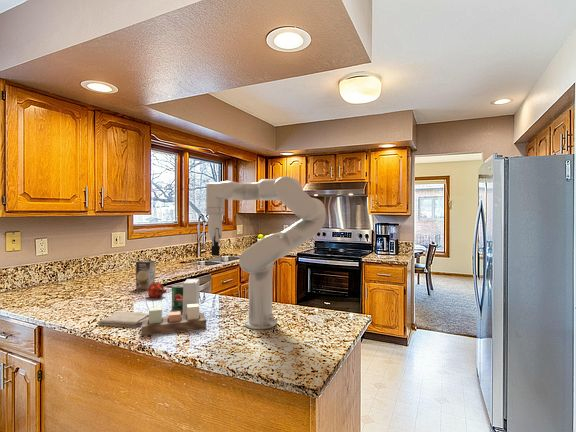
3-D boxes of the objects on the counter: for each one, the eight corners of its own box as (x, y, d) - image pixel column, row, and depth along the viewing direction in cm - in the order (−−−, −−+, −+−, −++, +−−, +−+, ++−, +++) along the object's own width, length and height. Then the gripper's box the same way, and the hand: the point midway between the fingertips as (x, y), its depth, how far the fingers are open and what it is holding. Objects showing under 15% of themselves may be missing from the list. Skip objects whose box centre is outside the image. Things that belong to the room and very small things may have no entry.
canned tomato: (181, 305, 160) (181, 282, 160) (192, 307, 156) (192, 284, 156) (167, 309, 154) (167, 285, 153) (179, 311, 150) (179, 287, 149)
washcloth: (138, 328, 129) (138, 321, 129) (96, 326, 131) (96, 319, 131) (154, 319, 141) (154, 312, 141) (115, 317, 143) (115, 310, 143)
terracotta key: (180, 323, 132) (180, 311, 132) (180, 327, 128) (180, 314, 128) (168, 324, 131) (168, 312, 131) (168, 328, 126) (168, 315, 126)
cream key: (198, 315, 134) (198, 303, 134) (199, 318, 130) (199, 306, 130) (186, 316, 133) (186, 304, 133) (187, 320, 129) (187, 307, 129)
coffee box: (135, 288, 195) (135, 261, 195) (141, 286, 201) (141, 260, 201) (149, 289, 193) (149, 262, 193) (155, 287, 200) (155, 260, 200)
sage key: (161, 319, 130) (161, 306, 130) (161, 322, 126) (161, 309, 125) (149, 320, 128) (149, 307, 128) (149, 324, 124) (149, 311, 124)
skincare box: (186, 311, 151) (186, 278, 151) (199, 310, 151) (199, 278, 151) (182, 316, 142) (182, 282, 142) (196, 316, 143) (196, 282, 143)
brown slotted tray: (203, 320, 138) (203, 312, 138) (205, 328, 128) (206, 320, 128) (143, 326, 130) (143, 318, 130) (141, 335, 121) (141, 326, 121)
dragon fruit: (152, 297, 182) (161, 304, 173) (140, 290, 176) (149, 297, 168) (162, 283, 184) (171, 290, 176) (150, 276, 179) (159, 283, 171)
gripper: (204, 211, 145) (204, 253, 145) (208, 211, 131) (208, 258, 131) (221, 211, 147) (221, 252, 147) (227, 211, 133) (227, 257, 133)
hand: (215, 255), depth 139 cm, fingers closed
